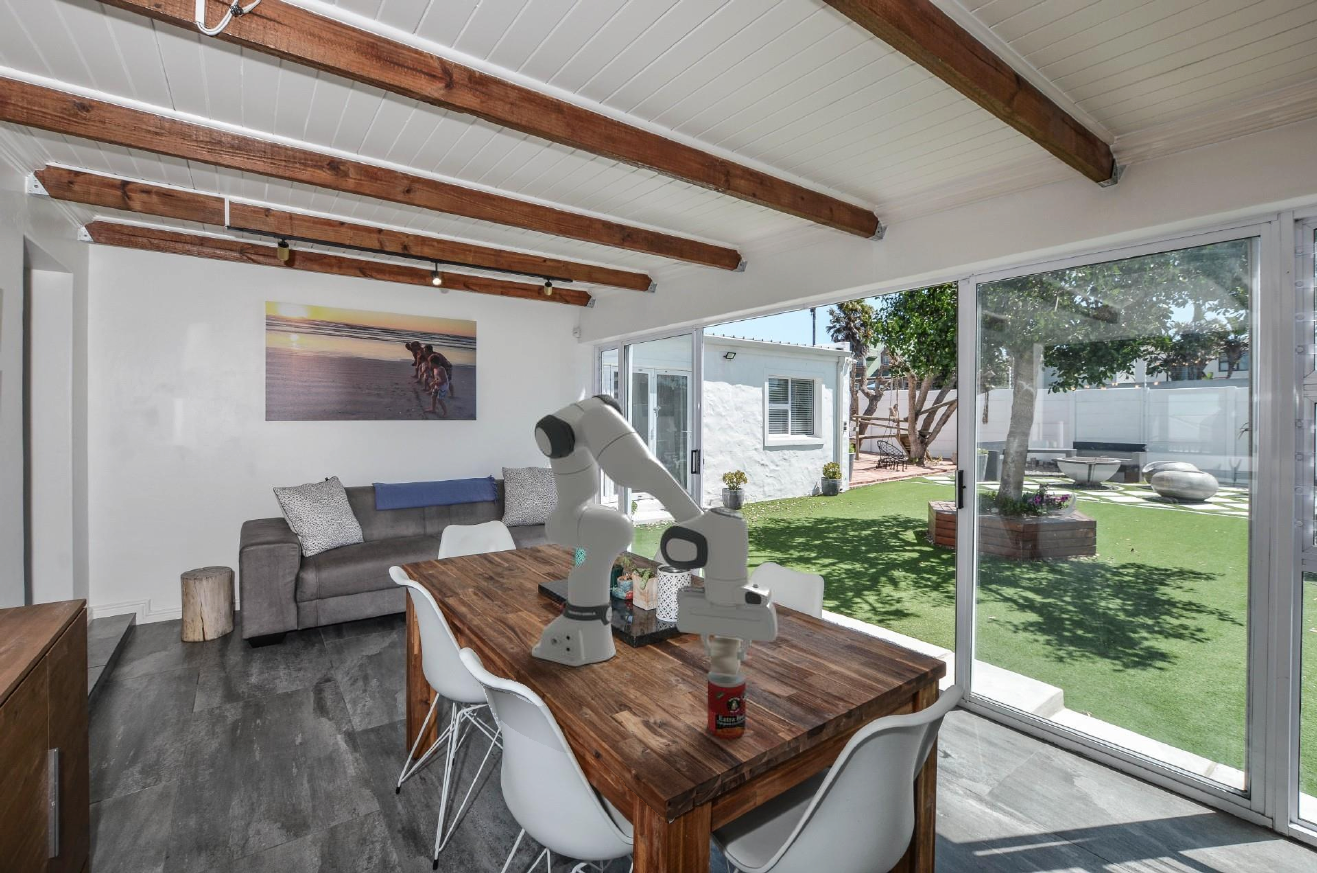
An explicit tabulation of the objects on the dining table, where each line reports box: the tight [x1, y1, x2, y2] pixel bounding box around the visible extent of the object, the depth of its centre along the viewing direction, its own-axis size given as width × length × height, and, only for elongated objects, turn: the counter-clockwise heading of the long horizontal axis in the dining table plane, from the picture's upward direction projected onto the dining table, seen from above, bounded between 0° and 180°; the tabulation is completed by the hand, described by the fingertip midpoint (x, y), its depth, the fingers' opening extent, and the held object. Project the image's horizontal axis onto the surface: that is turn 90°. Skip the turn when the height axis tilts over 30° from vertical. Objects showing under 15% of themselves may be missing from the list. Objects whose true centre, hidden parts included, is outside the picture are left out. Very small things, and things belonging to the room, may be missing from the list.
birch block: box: [710, 636, 741, 675], centre depth 120 cm, size 5×5×6 cm
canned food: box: [707, 670, 747, 740], centre depth 120 cm, size 8×8×11 cm
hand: (726, 657), depth 120 cm, fingers closed on birch block, 5 cm apart
